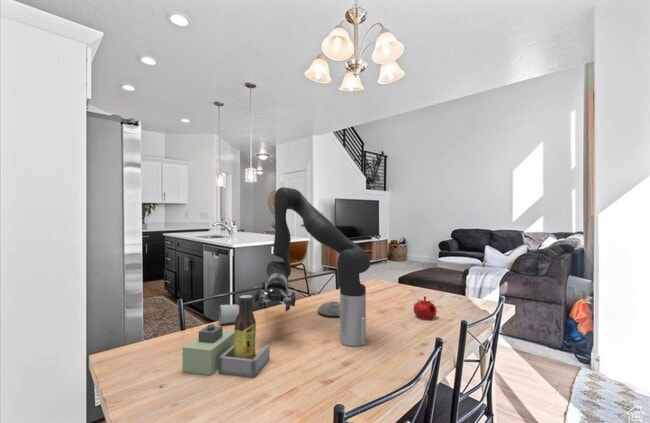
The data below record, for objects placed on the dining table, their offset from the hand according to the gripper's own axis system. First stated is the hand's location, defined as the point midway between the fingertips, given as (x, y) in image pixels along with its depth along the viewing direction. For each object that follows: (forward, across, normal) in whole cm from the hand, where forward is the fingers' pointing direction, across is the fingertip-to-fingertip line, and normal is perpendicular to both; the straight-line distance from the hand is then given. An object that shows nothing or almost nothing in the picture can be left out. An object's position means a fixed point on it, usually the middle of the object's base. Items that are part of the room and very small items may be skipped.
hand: (274, 307), depth 101 cm
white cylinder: (-26, -17, +24) cm, 39 cm away
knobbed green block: (+11, -11, +14) cm, 21 cm away
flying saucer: (-34, +29, +18) cm, 48 cm away
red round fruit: (-24, +68, +10) cm, 73 cm away
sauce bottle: (+12, -6, +13) cm, 19 cm away
